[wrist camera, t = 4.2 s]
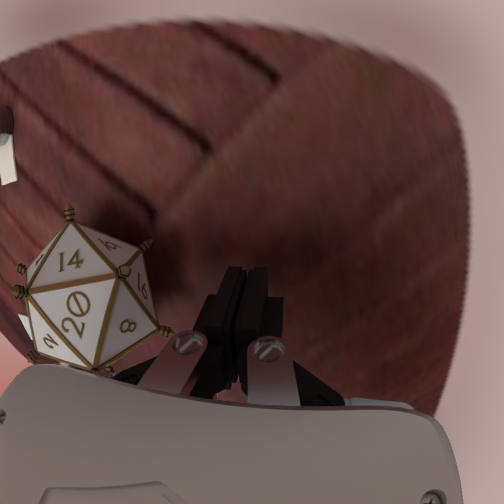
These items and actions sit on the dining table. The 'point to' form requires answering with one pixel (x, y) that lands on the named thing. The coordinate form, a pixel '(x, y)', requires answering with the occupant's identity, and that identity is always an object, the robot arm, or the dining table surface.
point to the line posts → (3, 128)
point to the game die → (88, 298)
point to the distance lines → (4, 164)
